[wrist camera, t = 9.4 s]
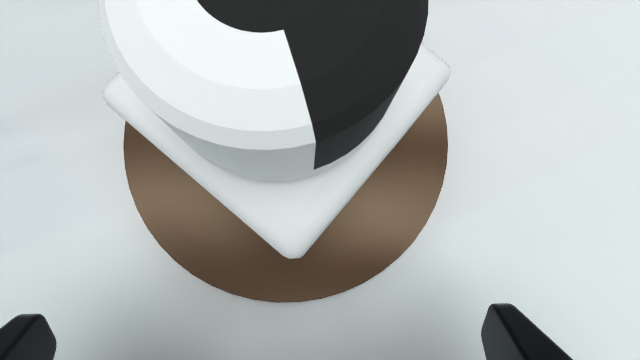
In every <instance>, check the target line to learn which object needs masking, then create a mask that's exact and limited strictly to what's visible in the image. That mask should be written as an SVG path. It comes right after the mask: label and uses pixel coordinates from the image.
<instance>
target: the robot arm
mask: <svg viewBox="0 0 640 360" xmlns="http://www.w3.org/2000/svg"><path fill="white" fill-rule="evenodd" d="M481 337H482V343H483V347H484V351H485V355H486V360H573V359H572V358H571V357H570V356H568V355H567V354H566V353H565V352H564V351H563V350H562V349H561V348H560V347H559V346H558V345H556V344H555V343H554V342H553V341H552V340H551V339H550V338H549V337H548V336H547V335H545V334H544V333H543V332H542V331H541V330H540V329H539V328H538V327H537V326H536V325H535V324H533V323H532V322H531V321H530V320H529V319H528V318H527V317H526V316H525V315H524V314H523V313H521V312H520V311H519V310H518V309H517V308H516V307H515V306H513V305H512V304H508V303H499V304H491V305H490V306H489V308H488V311H487V314H486V317H485V320H484V323H483V326H482V330H481ZM55 351H56V338H55V336H54V334H53V332H52V330H51V329H50V327H49V325H48V323H47V321H46V319H45V317H44V316H43V315H41V314H21V315H18V316H16V317H15V318H13V319H12V320H11V321H9V322H8V323H7V324H6V325H4V326H3V327H2V328H0V360H53V358H54V355H55Z"/></svg>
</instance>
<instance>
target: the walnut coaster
mask: <svg viewBox="0 0 640 360" xmlns="http://www.w3.org/2000/svg"><path fill="white" fill-rule="evenodd" d="M447 150H448V139H447V124H446V119H445V114H444V109H443V105H442V102H441V99H440V96H439V93H437V95H436V96H435V97H434V98H433V100H432V101H431V102H430V103H429V105H428V106H427V107H426V108H425V110H424V111H423V112H422V113H421V115H420V116H419V117H418V118H417V120H416V121H415V122H414V123H413V125H412V126H411V127H410V128H409V130H408V131H407V132H406V133H405V135H404V136H403V137H402V138H401V140H400V141H399V142H398V143H397V144H396V145H395V147H394V148H393V149H392V150H391V151H390V153H389V154H388V155H387V156H386V157H385V159H384V160H383V161H382V162H381V163H380V165H379V166H378V167H377V168H376V169H375V171H374V172H373V173H372V174H371V175H370V177H369V178H368V179H367V180H366V181H365V183H364V184H363V185H362V186H361V187H360V189H359V190H358V191H357V192H356V193H355V195H354V196H353V197H352V198H351V199H350V201H349V202H348V203H347V204H346V205H345V207H344V208H343V209H342V210H341V211H340V213H339V214H338V215H337V216H336V217H335V218H334V220H333V221H332V222H331V223H330V224H329V226H328V227H327V228H326V229H325V230H324V232H323V233H322V234H321V235H320V236H319V238H318V239H317V240H316V241H315V242H314V244H313V245H312V246H311V247H310V248H309V250H308V251H307V252H306V253H305V254H304V255H303V256H302V257H301V258H294V259H289V258H286V257H284V256H282V255H281V254H280V253H279V252H278V251H277V250H276V249H274V248H273V247H272V246H271V245H270V244H269V243H267V242H266V241H265V240H264V239H263V238H262V237H260V236H259V235H258V234H257V233H256V232H255V231H253V230H252V229H251V228H250V227H249V226H248V225H247V224H245V223H244V222H243V221H242V220H241V219H240V218H238V217H237V216H236V215H235V214H234V213H233V212H231V211H230V210H229V209H228V208H227V207H226V206H224V205H223V204H222V203H221V202H220V201H219V200H217V199H216V198H215V197H214V196H213V195H212V194H211V193H209V192H208V191H207V190H206V189H205V188H204V187H202V186H201V185H200V184H199V183H198V182H197V181H195V180H194V179H193V178H192V177H191V176H190V175H188V174H187V173H186V172H185V171H184V170H183V169H182V168H180V167H179V166H178V165H177V164H176V163H175V162H173V161H172V160H171V159H170V158H169V157H168V156H166V155H165V154H164V153H163V152H162V151H161V150H159V149H158V148H157V147H156V146H155V145H154V144H152V143H151V142H150V141H149V140H148V139H147V138H146V137H144V136H143V135H142V134H141V133H140V132H139V131H137V130H136V129H135V128H134V127H133V126H132V125H130V124H129V123H128V122H127V121H126V123H125V132H124V160H125V170H126V174H127V179H128V184H129V188H130V191H131V194H132V197H133V199H134V202H135V205H136V207H137V210H138V211H139V213H140V215H141V217H142V219H143V221H144V223H145V225H146V226H147V228H148V229H149V231H150V232H151V234H152V235H153V236H154V238H155V239H156V240H157V242H158V243H159V245H160V246H161V247H162V248H163V249H164V250H165V251H166V252H167V253H168V254H169V255H170V256H171V257H172V258H173V259H174V260H175V261H176V262H177V263H179V264H180V265H181V266H182V267H184V268H185V269H186V270H188V271H189V272H190V273H191V274H193V275H194V276H196V277H198V278H200V279H201V280H203V281H205V282H207V283H208V284H210V285H212V286H214V287H217V288H219V289H221V290H224V291H226V292H229V293H231V294H234V295H238V296H242V297H246V298H250V299H254V300H262V301H270V302H302V301H308V300H315V299H321V298H325V297H328V296H331V295H335V294H338V293H342V292H344V291H347V290H349V289H351V288H353V287H355V286H358V285H360V284H362V283H364V282H366V281H367V280H369V279H371V278H372V277H374V276H375V275H377V274H379V273H380V272H382V271H383V270H384V269H385V268H387V267H388V266H389V265H390V264H392V263H393V262H394V261H395V260H396V259H398V258H399V257H400V256H401V255H402V253H403V252H404V251H405V250H406V249H407V248H408V247H409V246H410V245H411V244H412V243H413V242H414V240H415V239H416V237H417V236H418V234H419V233H420V232H421V230H422V229H423V227H424V226H425V224H426V223H427V221H428V219H429V217H430V215H431V213H432V211H433V209H434V207H435V205H436V202H437V199H438V196H439V194H440V191H441V188H442V185H443V180H444V175H445V170H446V165H447Z"/></svg>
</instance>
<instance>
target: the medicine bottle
mask: <svg viewBox="0 0 640 360" xmlns="http://www.w3.org/2000/svg"><path fill="white" fill-rule="evenodd" d="M98 2H99V18H100V23H101V28H102V32H103V37H104V41H105V43H106V46H107V48H108V51H109V53H110V56H111V59H112V61H113V63H114V64H115V66H116V68H117V69H118V71H119V73H118V74H117V75H116V76H115V77H114V78H113V79H112V80H111V81H110V82H109V83H108V84H107V85H106V86H105V88H104V90H103V98H104V100H105V102H106V103H107V105H108V106H110V107H111V108H112V109H113V110H114V111H115V112H116V113H118V114H119V115H120V116H121V117H122V118H123V119H125V120H126V121H127V122H128V123H129V124H130V125H132V126H133V127H134V128H135V129H136V130H137V131H139V132H140V133H141V134H142V135H143V136H144V137H146V138H147V139H148V140H149V141H150V142H151V143H152V144H154V145H155V146H156V147H157V148H158V149H159V150H161V151H162V152H163V153H164V154H165V155H166V156H168V157H169V158H170V159H171V160H172V161H173V162H175V163H176V164H177V165H178V166H179V167H180V168H182V169H183V170H184V171H185V172H186V173H187V174H188V175H190V176H191V177H192V178H193V179H194V180H195V181H197V182H198V183H199V184H200V185H201V186H202V187H204V188H205V189H206V190H207V191H208V192H209V193H211V194H212V195H213V196H214V197H215V198H216V199H217V200H219V201H220V202H221V203H222V204H223V205H224V206H226V207H227V208H228V209H229V210H230V211H231V212H233V213H234V214H235V215H236V216H237V217H238V218H240V219H241V220H242V221H243V222H244V223H245V224H247V225H248V226H249V227H250V228H251V229H252V230H253V231H255V232H256V233H257V234H258V235H259V236H260V237H262V238H263V239H264V240H265V241H266V242H267V243H269V244H270V245H271V246H272V247H273V248H274V249H276V250H277V251H278V252H279V253H280V254H281V255H282V256H284V257H286V258H289V259H294V258H301V257H302V256H303V255H304V254H305V253H306V252H307V251H308V250H309V248H310V247H311V246H312V245H313V244H314V242H315V241H316V240H317V239H318V238H319V236H320V235H321V234H322V233H323V232H324V230H325V229H326V228H327V227H328V226H329V224H330V223H331V222H332V221H333V220H334V218H335V217H336V216H337V215H338V214H339V213H340V211H341V210H342V209H343V208H344V207H345V205H346V204H347V203H348V202H349V201H350V199H351V198H352V197H353V196H354V195H355V193H356V192H357V191H358V190H359V189H360V187H361V186H362V185H363V184H364V183H365V181H366V180H367V179H368V178H369V177H370V175H371V174H372V173H373V172H374V171H375V169H376V168H377V167H378V166H379V165H380V163H381V162H382V161H383V160H384V159H385V157H386V156H387V155H388V154H389V153H390V151H391V150H392V149H393V148H394V147H395V145H396V144H397V143H398V142H399V141H400V140H401V138H402V137H403V136H404V135H405V133H406V132H407V131H408V130H409V128H410V127H411V126H412V125H413V123H414V122H415V121H416V120H417V118H418V117H419V116H420V115H421V113H422V112H423V111H424V110H425V108H426V107H427V106H428V105H429V103H430V102H431V101H432V100H433V98H434V97H435V96H436V95H437V93H438V92H439V91H440V90H441V88H442V87H443V86H444V85H445V83H446V82H447V81H448V79H449V76H450V66H449V65H448V64H447V62H446V61H444V60H443V59H442V58H440V57H439V56H438V55H437V54H435V53H434V52H433V51H431V50H430V49H429V48H428V47H426V46H425V45H424V44H422V43H421V42H422V39H423V36H424V32H425V27H426V22H427V16H428V0H98Z"/></svg>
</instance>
